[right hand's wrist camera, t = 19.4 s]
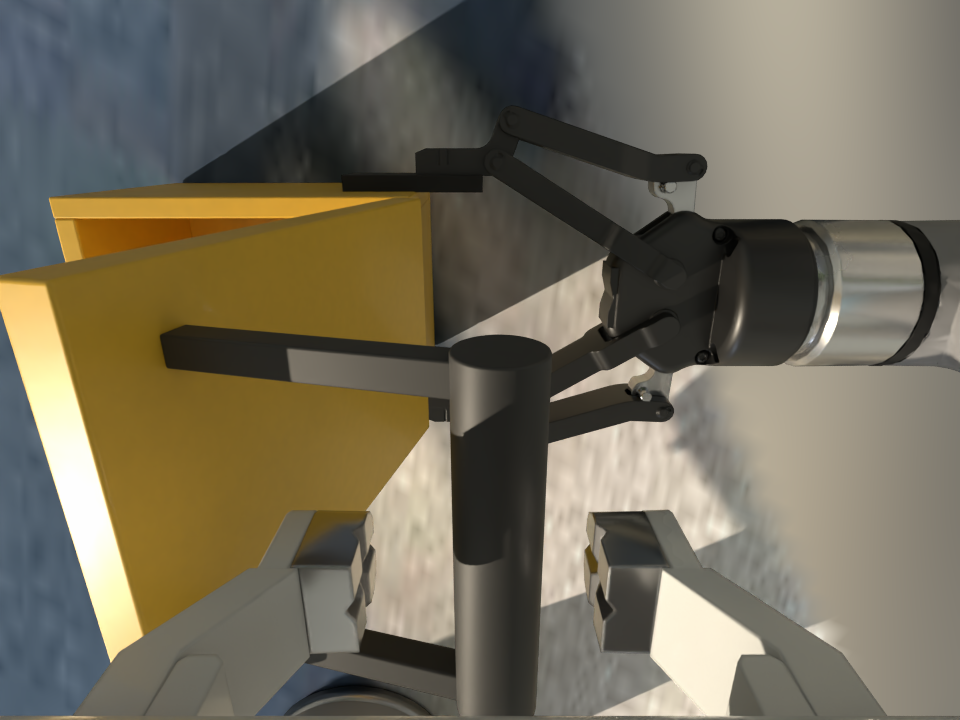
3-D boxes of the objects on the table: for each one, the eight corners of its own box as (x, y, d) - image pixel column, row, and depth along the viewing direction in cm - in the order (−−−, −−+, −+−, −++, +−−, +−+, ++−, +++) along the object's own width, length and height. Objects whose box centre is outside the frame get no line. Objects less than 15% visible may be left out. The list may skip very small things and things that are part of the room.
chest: (206, 347, 37) (106, 420, 27) (175, 183, 33) (47, 197, 23) (434, 347, 37) (419, 419, 27) (429, 182, 33) (409, 196, 23)
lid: (134, 745, 12) (514, 863, 10) (-14, 276, 9) (530, 314, 7) (406, 424, 27) (586, 446, 25) (394, 197, 23) (605, 201, 21)
